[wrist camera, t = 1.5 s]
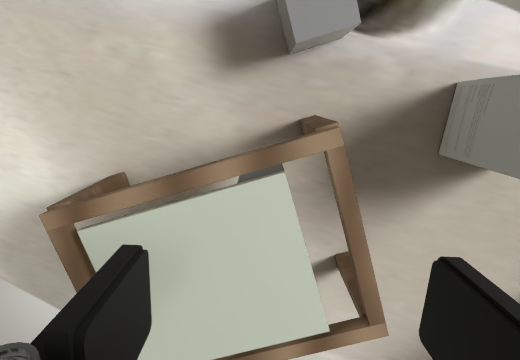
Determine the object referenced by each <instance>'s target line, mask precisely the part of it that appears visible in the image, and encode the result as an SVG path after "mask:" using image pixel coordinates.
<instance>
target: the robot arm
mask: <svg viewBox="0 0 520 360" xmlns="http://www.w3.org/2000/svg"><path fill="white" fill-rule="evenodd" d="M151 325H152V315H151V294H150V274H149V254H148V250H143V247H142V246H141V245H126V244H123V245H122V246H121V247H120V248H119V249H118V250H117V251H116V252H115V253H114V254H113V255H112V256H111V257H110V258H109V259H108V261H107V262H106V263H105V264H104V265H103V266H102V267H101V268H100V269H99V270H98V271H97V272H96V273H95V275H94V276H93V277H92V278H91V279H90V280H89V281H88V282H87V283H86V284H85V285H84V286H83V287H82V288H81V290H80V291H79V292H78V293H77V294H76V295H75V296H74V297H73V298H72V299H71V300H70V301H69V302H68V304H67V305H66V306H65V307H64V308H63V309H62V310H61V311H60V312H59V313H58V314H57V315H56V317H55V318H54V319H53V320H52V321H51V322H50V323H49V324H48V325H47V326H46V327H45V328H44V330H43V331H42V332H41V333H40V334H39V335H38V336H37V337H36V338H35V339H34V340H33V341H32V342H31V344H29V343H20V342H17V343H9V344H5V345H1V346H0V360H137V359H138V357H139V355H140V353H141V350H142V348H143V346H144V344H145V342H146V340H147V337H148V335H149V333H150V330H151ZM419 336H420V340H421V342H422V344H423V345H424V347H425V348H426V350H427V351H428V353H429V354H430V356H431V357H432V359H433V360H520V304H519V303H518V302H516V301H515V300H514V299H513V298H511V297H510V296H509V295H507V294H506V293H505V292H504V291H502V290H501V289H500V288H499V287H497V286H496V285H495V284H494V283H492V282H491V281H490V280H488V279H487V278H486V277H485V276H483V275H482V274H481V273H480V272H478V271H477V270H476V269H475V268H473V267H472V266H471V265H470V264H468V263H467V262H466V261H464V260H463V259H462V258H460V257H440V258H439V259H438V260H437V261H434V262H433V264H432V268H431V273H430V278H429V283H428V288H427V293H426V298H425V303H424V308H423V313H422V318H421V323H420V328H419Z"/></svg>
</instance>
